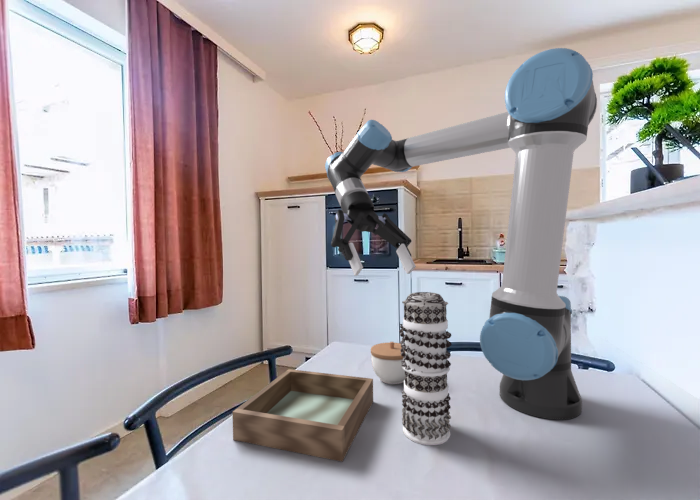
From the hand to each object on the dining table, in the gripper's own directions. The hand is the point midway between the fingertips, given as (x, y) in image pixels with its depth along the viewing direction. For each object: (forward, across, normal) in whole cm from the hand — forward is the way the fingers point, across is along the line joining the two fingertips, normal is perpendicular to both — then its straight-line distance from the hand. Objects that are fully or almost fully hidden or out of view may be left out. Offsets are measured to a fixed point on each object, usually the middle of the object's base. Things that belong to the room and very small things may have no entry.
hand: (386, 271), depth 69 cm
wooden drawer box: (+20, +16, -21) cm, 33 cm away
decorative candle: (+29, -1, -9) cm, 31 cm away
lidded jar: (+15, -10, -26) cm, 32 cm away
